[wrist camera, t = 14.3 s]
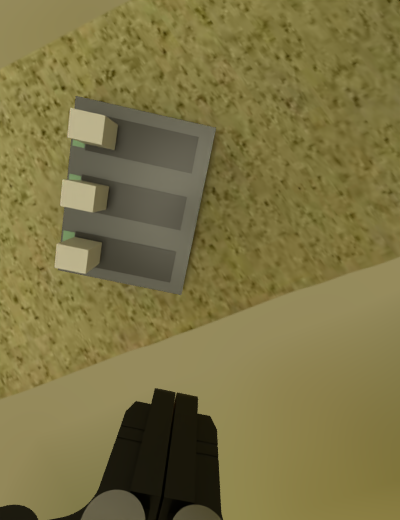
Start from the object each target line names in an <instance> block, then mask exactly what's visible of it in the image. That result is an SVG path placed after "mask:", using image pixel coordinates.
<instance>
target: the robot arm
mask: <svg viewBox="0 0 400 520" xmlns="http://www.w3.org/2000/svg"><path fill="white" fill-rule="evenodd" d="M174 400H175V402H174ZM197 408H198V397H196V396H191V395H187V394H182V393H177V394H176V398H175V392H172V391H167V390H162V389H156V388H155V391H154V395H153V399H152V403H151V404H147V403H143V402H137V401H136V402H135V403H134V404H133V405H132V406H131V407H130V408H129V409H128V410H127V411H126V412H125V415H124V418H123V421H122V424H121V427H120V429H119V432H118V435H117V439H116V441H115V444H114V447H113V449H112V452H111V455H110V458H109V461H108V464H107V467H106V469H105V472H104V475H103V478H102V481H101V484H100V487H99V489H98V491H97V493H96V494H95V496H94V497H93V499H92V500H91V501H90V502H89V503H88V504H87V505H86V506H85V507H84V508H82V509H81V510H79V511H78V512H76V513H74V514H71V515H69V516H66V517H62V518H57V519H51V520H223V518H222V514H221V503H220V502H221V500H220V481H219V461H218V447H217V445H218V443H217V429H216V427H215V425H214V423H213V421H212V419H211V417H210V416H207V415H202V414H197V410H198V409H197ZM0 520H38V518H37V516H36V515H35V513H34V512H33V511H32V510H30V509H29V508H27V507H25V506H21V505H7V506H3V507H0Z"/></svg>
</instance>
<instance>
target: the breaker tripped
mask: <svg viewBox="0 0 400 520" xmlns="http://www.w3.org/2000/svg"><path fill="white" fill-rule="evenodd" d="M108 192H109V186H105V185H101V184H96V183H91V182H87V181H82V180H69V179H63V181H62V191H61V201H60V206H64V207H69V208H73V209H78V210H83V211H87V212H92V213H93V212H97V211H101V210H106V207H107V199H108Z"/></svg>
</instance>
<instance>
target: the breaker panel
mask: <svg viewBox="0 0 400 520" xmlns="http://www.w3.org/2000/svg"><path fill="white" fill-rule="evenodd" d="M75 109H78V110H82V111H87V112H91V113H96V114H100V115H104V116H106V117H108V118H109V119H110V120H112V121H113V122H115V123H116V124H117V125H118V129H117V137H116V144H115V150H111V149H106V148H102V147H97V146H93V145H88V144H84V143H81V142H79V141H76V140H73V139H71V148H70V158H69V168H68V178H67V179H69V180H82V181H87V182H91V183H96V184H101V185H105V186H109V192H108V199H107V207H106V210H101V211H97V212H93V213H92V212H87V211H83V210H78V209H73V208H69V207H64V217H63V227H62V236H61V242H62V241H65V240H68V239H70V238H73V237H78V238H83V239H88V240H92V241H97V242H102V247H101V255H100V262H99V264H98V265H97V266H95V267H94V268H93V269H91V270H90V271H89V272H87V273H86V274H83V273H78V272H74V271H69V270H64V269H59V268H58V270H60V271H65V272H70V273H75V274H80V275H85V276H90V277H95V278H100V279H105V280H110V281H115V282H120V283H125V284H130V285H135V286H140V287H144V288H149V289H154V290H159V291H164V292H169V293H174V294H179V295H181V294H182V289H183V284H184V279H185V275H186V270H187V265H188V260H189V255H190V251H191V246H192V241H193V236H194V231H195V227H196V222H197V217H198V212H199V207H200V203H201V198H202V193H203V188H204V184H205V179H206V174H207V169H208V164H209V160H210V155H211V150H212V145H213V140H214V136H215V131H216V128H215V127H210V126H206V125H201V124H197V123H193V122H188V121H184V120H179V119H175V118H171V117H166V116H162V115H157V114H153V113H149V112H144V111H140V110H135V109H131V108H127V107H122V106H118V105H113V104H109V103H105V102H100V101H96V100H91V99H87V98H83V97H78V96H76V99H75Z"/></svg>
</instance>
